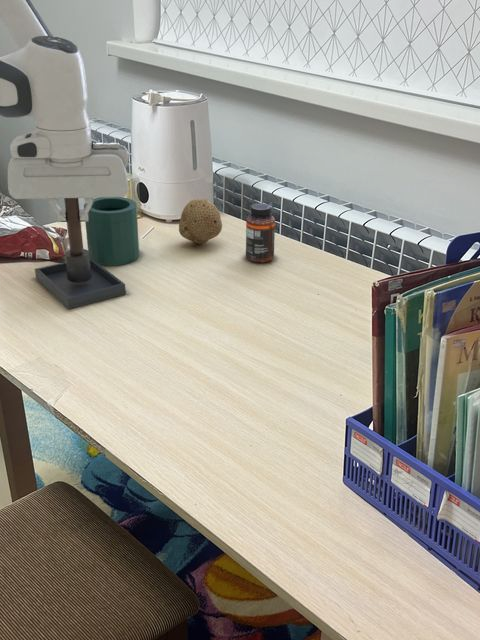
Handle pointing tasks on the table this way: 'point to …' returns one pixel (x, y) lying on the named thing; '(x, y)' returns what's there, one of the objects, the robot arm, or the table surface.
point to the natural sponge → (200, 221)
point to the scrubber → (76, 245)
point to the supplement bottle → (260, 233)
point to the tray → (80, 285)
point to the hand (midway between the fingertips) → (73, 221)
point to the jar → (112, 231)
